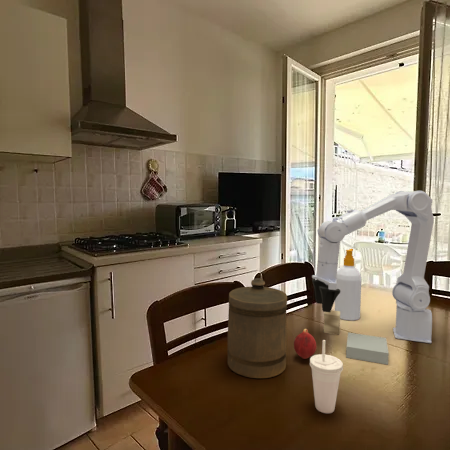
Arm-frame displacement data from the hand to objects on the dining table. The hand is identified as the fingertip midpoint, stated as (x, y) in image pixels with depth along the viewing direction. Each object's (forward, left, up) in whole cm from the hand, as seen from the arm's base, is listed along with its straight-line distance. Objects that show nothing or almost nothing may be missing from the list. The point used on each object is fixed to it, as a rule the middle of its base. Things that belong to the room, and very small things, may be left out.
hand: (322, 307), depth 100 cm
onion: (+3, +15, -10) cm, 18 cm away
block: (-2, -7, -10) cm, 12 cm away
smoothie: (-4, +34, -10) cm, 35 cm away
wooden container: (+14, +22, -10) cm, 28 cm away
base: (-12, +5, -10) cm, 16 cm away
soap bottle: (-6, -23, -10) cm, 26 cm away
